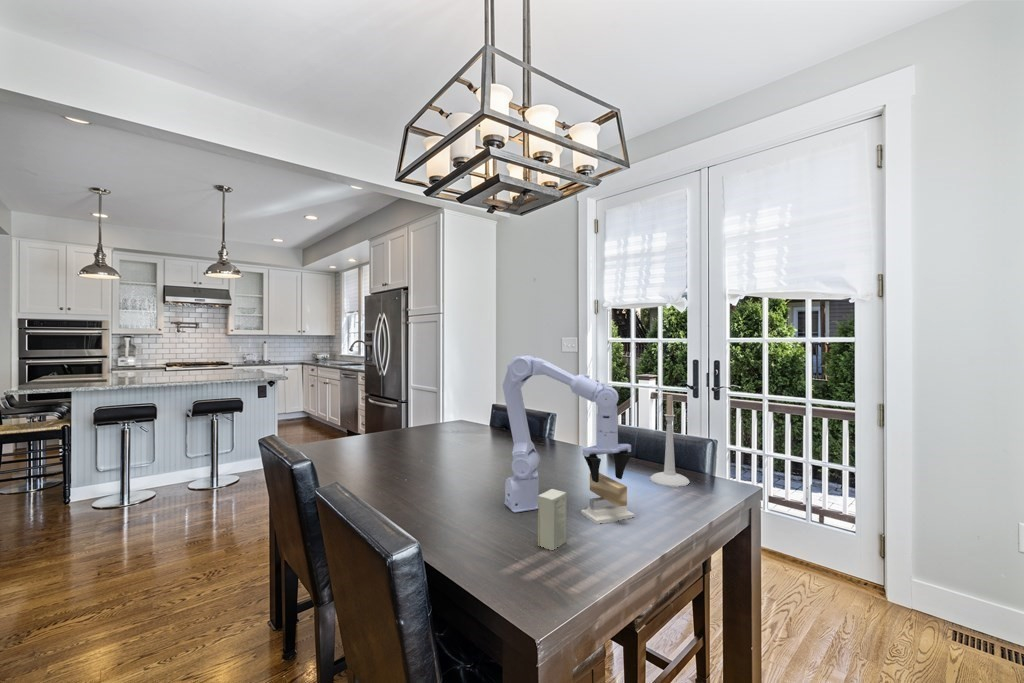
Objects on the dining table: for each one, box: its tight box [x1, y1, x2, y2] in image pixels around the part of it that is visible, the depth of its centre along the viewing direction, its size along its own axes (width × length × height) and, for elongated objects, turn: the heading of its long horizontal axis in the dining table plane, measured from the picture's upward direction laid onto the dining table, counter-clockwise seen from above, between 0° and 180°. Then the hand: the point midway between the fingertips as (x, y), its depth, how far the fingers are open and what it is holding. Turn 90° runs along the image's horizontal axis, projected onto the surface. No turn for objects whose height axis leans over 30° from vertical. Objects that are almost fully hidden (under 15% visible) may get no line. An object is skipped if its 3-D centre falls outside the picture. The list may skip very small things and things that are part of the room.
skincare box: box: [537, 488, 567, 551], centre depth 107 cm, size 6×4×12 cm
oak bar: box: [589, 472, 628, 507], centre depth 125 cm, size 3×14×5 cm, turn 22°
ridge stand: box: [580, 496, 635, 525], centre depth 125 cm, size 12×8×5 cm, turn 112°
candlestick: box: [649, 394, 690, 488], centre depth 155 cm, size 13×13×30 cm
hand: (607, 479), depth 125 cm, fingers open, 7 cm apart
